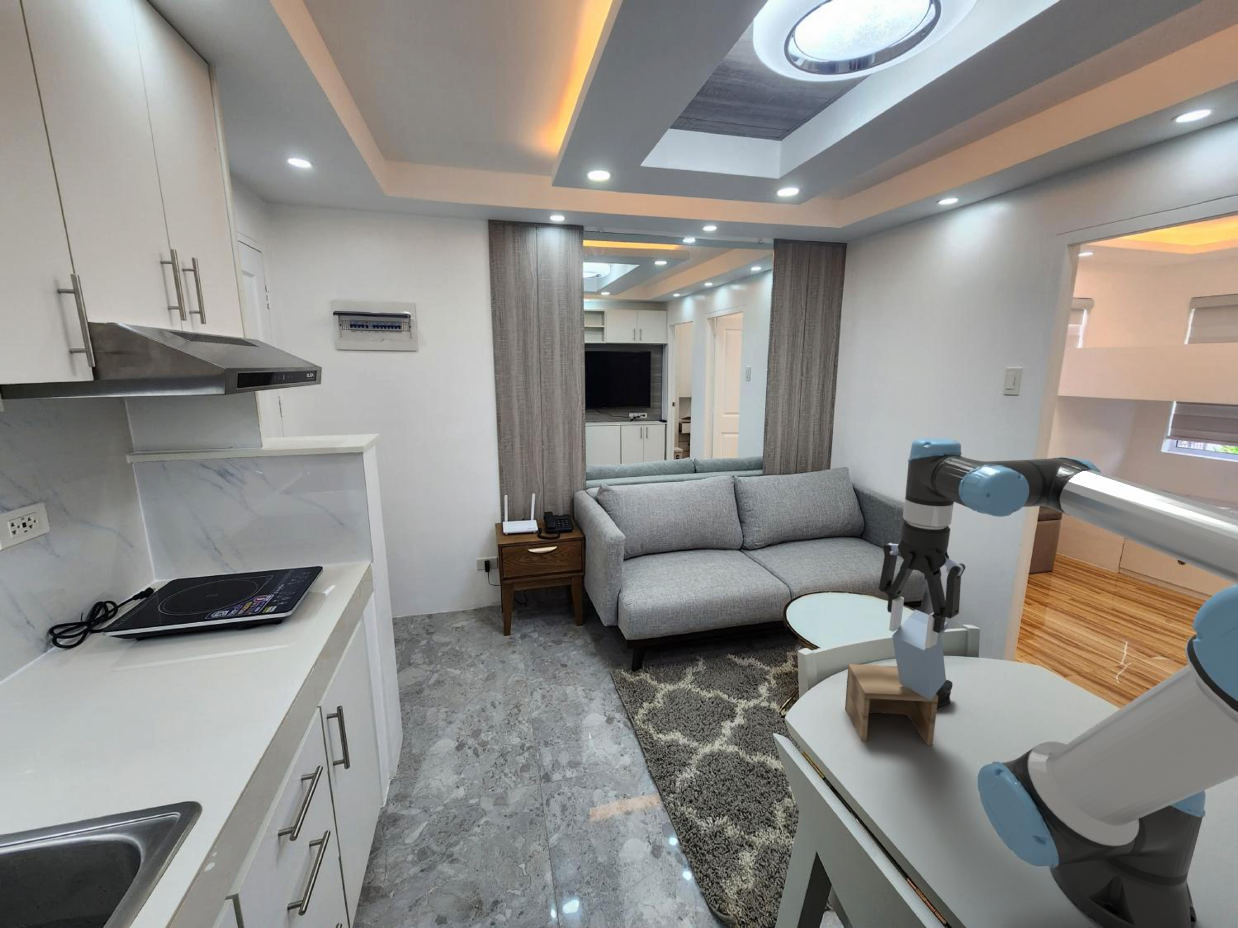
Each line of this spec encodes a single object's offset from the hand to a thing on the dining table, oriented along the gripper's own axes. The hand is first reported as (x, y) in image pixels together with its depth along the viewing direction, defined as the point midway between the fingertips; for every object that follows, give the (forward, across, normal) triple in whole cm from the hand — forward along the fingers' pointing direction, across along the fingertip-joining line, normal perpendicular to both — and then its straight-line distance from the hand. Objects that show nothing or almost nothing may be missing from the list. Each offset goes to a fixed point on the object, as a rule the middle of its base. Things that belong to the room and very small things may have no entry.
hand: (912, 636), depth 95 cm
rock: (+26, +5, -19) cm, 33 cm away
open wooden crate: (+26, +5, -4) cm, 26 cm away
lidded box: (+7, 0, -1) cm, 7 cm away
